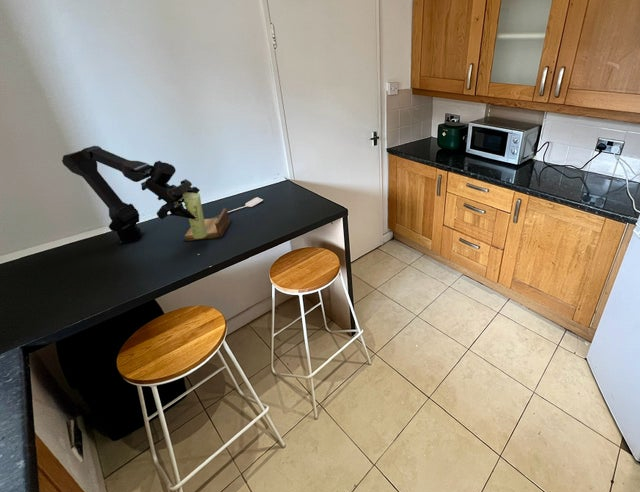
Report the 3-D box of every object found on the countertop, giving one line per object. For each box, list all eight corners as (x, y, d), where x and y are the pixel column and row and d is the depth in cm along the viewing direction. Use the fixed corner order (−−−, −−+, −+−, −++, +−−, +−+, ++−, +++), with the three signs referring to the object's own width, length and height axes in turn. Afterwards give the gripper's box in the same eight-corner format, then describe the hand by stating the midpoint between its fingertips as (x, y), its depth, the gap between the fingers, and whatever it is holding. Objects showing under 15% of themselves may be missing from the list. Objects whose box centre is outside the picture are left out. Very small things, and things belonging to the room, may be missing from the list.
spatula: (264, 202, 166) (263, 199, 165) (207, 225, 144) (206, 222, 143) (257, 199, 169) (256, 196, 168) (200, 221, 147) (199, 218, 147)
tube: (191, 240, 125) (181, 195, 117) (191, 235, 129) (181, 191, 121) (208, 237, 128) (199, 193, 120) (206, 232, 132) (198, 189, 124)
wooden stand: (186, 240, 132) (180, 226, 129) (197, 224, 145) (193, 211, 141) (222, 237, 135) (217, 223, 132) (230, 221, 147) (226, 208, 144)
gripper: (153, 186, 109) (193, 215, 114) (188, 167, 126) (222, 193, 130) (140, 205, 113) (179, 232, 117) (175, 185, 129) (208, 209, 134)
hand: (198, 215), depth 125 cm, fingers closed on tube, 4 cm apart
